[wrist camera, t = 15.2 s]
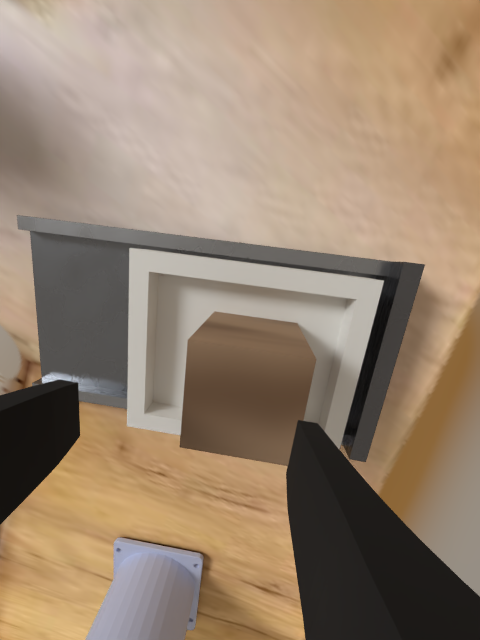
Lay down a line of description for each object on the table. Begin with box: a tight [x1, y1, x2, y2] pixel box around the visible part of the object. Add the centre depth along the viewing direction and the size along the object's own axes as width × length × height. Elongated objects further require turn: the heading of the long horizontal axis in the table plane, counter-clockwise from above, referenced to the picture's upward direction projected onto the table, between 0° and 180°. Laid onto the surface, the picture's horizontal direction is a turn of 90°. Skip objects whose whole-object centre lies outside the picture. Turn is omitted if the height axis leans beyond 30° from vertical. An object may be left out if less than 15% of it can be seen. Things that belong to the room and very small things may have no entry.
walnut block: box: [180, 311, 316, 466], centre depth 12 cm, size 4×4×5 cm
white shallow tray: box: [127, 248, 384, 450], centre depth 15 cm, size 10×12×4 cm
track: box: [17, 215, 425, 462], centre depth 16 cm, size 12×23×3 cm, turn 83°
